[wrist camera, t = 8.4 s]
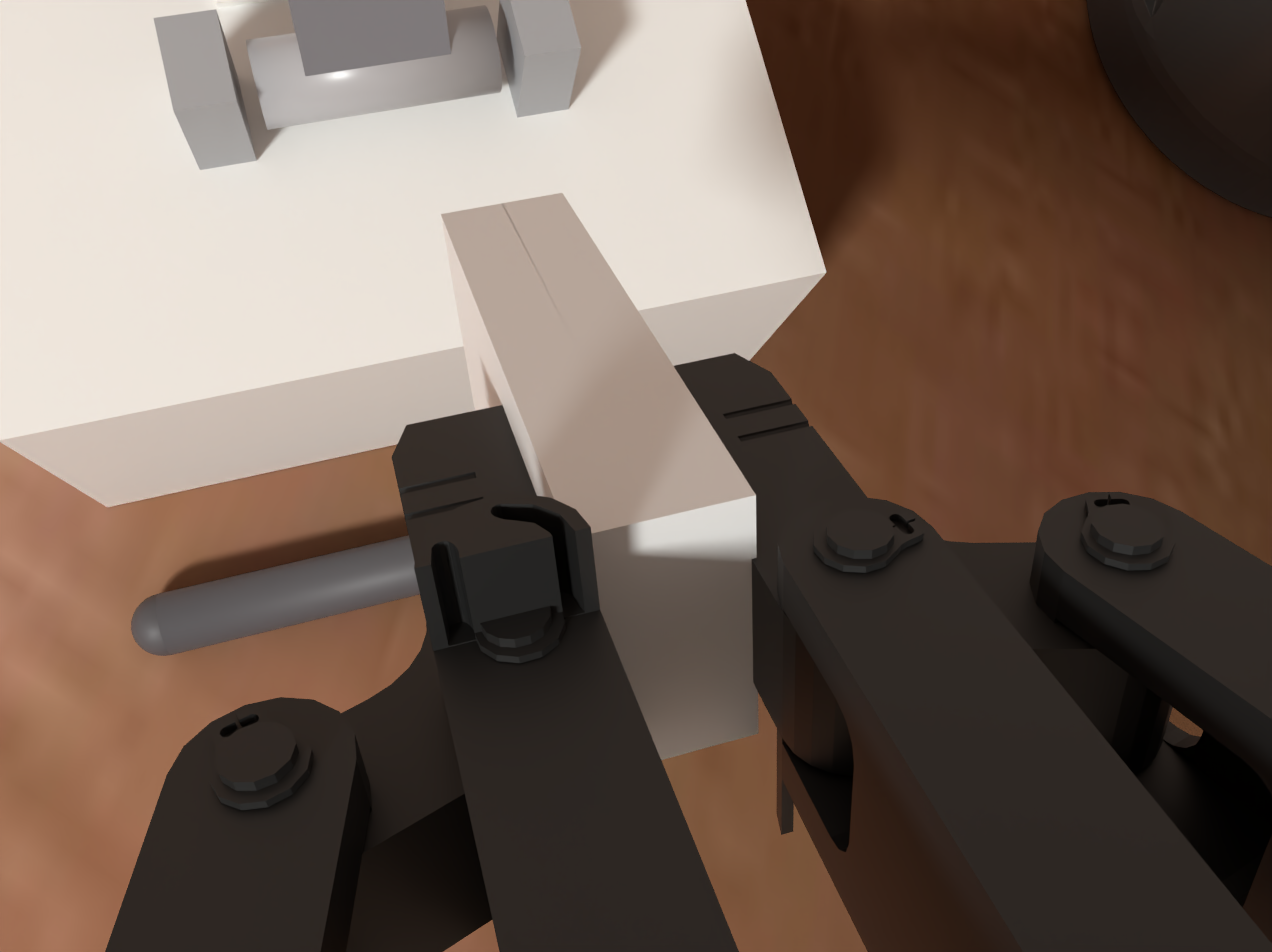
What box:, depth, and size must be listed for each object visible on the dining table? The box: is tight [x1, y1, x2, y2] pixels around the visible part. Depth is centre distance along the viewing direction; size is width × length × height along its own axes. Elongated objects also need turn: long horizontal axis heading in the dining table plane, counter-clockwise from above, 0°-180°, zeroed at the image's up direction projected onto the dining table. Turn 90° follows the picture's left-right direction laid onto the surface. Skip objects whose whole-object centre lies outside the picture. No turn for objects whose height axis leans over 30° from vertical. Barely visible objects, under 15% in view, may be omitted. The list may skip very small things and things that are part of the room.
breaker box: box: [0, 0, 826, 656], centre depth 29 cm, size 18×16×11 cm
